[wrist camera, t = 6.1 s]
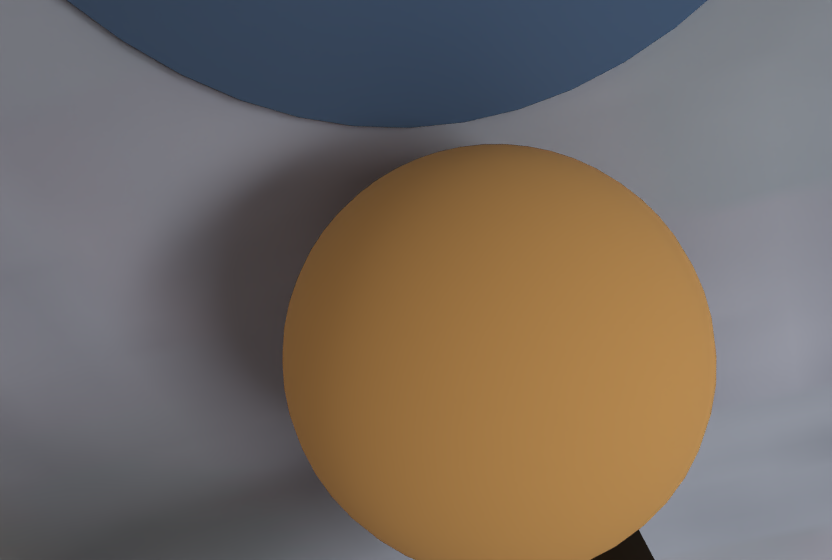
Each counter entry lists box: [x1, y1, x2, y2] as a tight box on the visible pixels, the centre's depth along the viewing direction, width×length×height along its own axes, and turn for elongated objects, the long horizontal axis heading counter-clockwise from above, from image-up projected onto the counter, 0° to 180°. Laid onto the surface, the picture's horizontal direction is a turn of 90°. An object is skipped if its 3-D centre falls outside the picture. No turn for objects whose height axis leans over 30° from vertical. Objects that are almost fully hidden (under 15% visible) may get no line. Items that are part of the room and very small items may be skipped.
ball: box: [283, 144, 716, 560], centre depth 9 cm, size 6×6×6 cm
